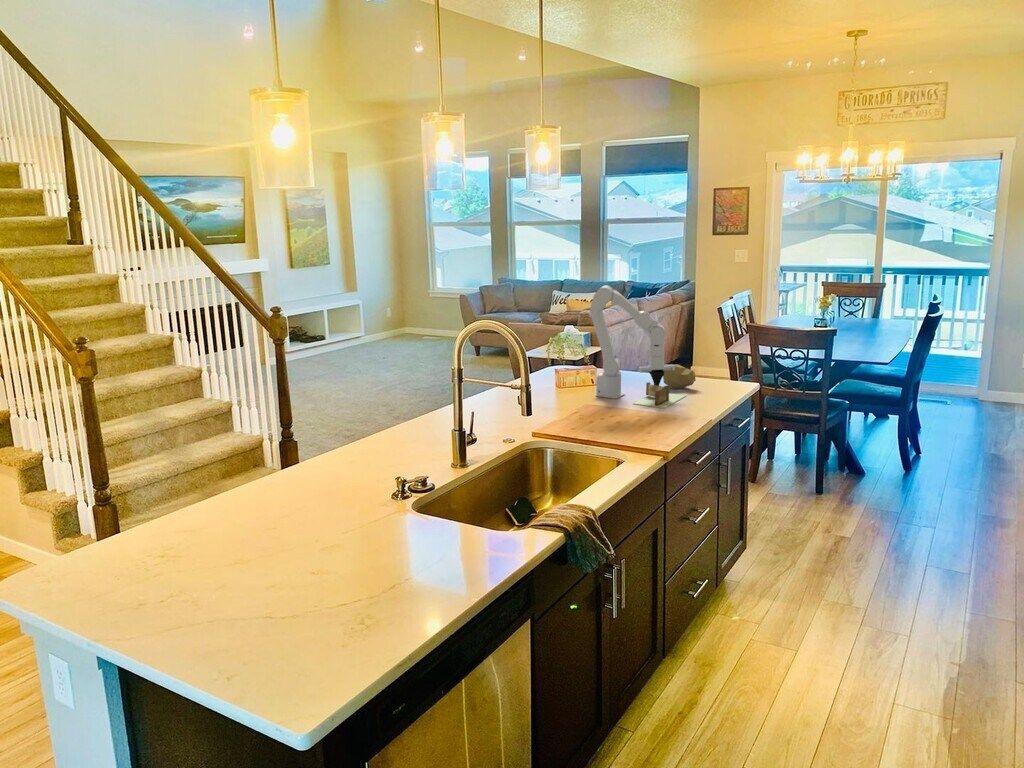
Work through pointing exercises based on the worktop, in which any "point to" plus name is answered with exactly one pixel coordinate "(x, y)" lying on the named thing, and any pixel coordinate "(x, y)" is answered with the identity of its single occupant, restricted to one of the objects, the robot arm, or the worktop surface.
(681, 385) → the low-poly potato
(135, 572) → the worktop surface
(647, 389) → the hinged panel
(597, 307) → the robot arm
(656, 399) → the fixed fence
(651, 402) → the board
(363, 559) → the worktop surface
